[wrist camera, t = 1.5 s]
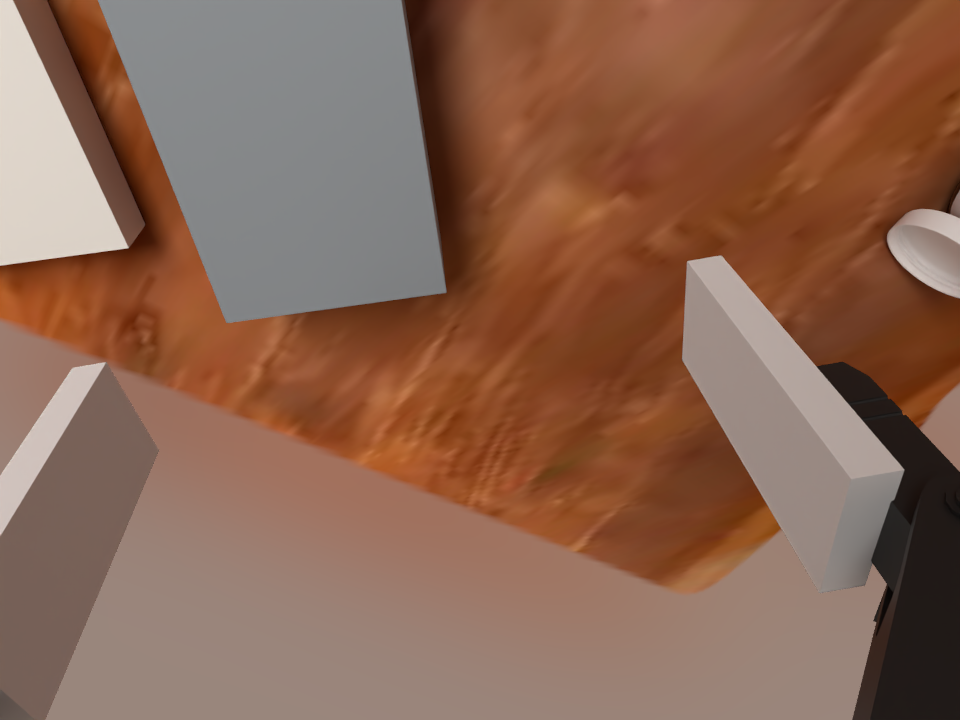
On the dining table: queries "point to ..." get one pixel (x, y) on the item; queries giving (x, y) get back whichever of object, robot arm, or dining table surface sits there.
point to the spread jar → (930, 246)
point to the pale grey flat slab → (53, 149)
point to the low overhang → (289, 146)
